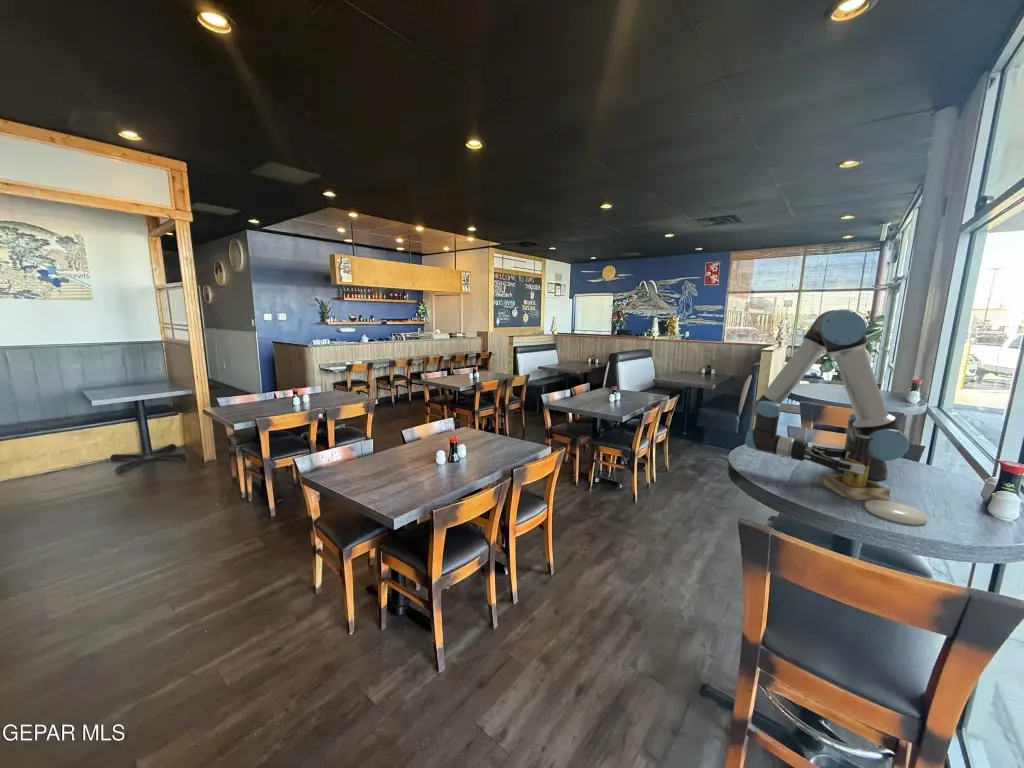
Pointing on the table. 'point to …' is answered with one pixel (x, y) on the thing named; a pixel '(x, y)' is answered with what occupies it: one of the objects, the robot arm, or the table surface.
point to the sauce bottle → (858, 462)
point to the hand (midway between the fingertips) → (867, 465)
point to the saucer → (896, 512)
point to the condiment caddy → (855, 489)
